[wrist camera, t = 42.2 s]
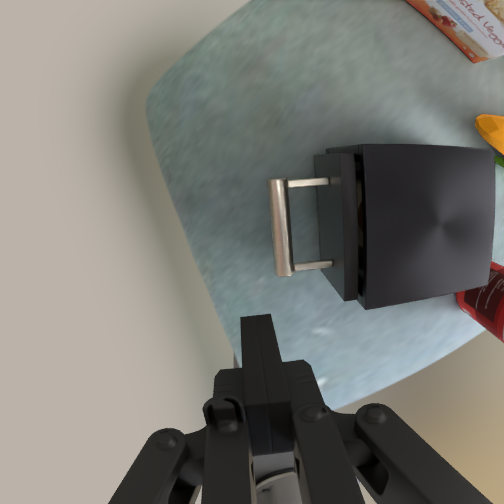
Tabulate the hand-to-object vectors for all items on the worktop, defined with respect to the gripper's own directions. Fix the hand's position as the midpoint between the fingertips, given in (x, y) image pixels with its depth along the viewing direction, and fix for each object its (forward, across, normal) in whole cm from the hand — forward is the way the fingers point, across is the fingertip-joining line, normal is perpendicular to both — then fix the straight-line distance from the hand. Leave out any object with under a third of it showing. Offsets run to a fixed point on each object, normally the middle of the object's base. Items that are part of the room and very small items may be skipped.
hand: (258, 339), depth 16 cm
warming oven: (+17, +16, +3) cm, 23 cm away
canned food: (+17, +30, -8) cm, 35 cm away
